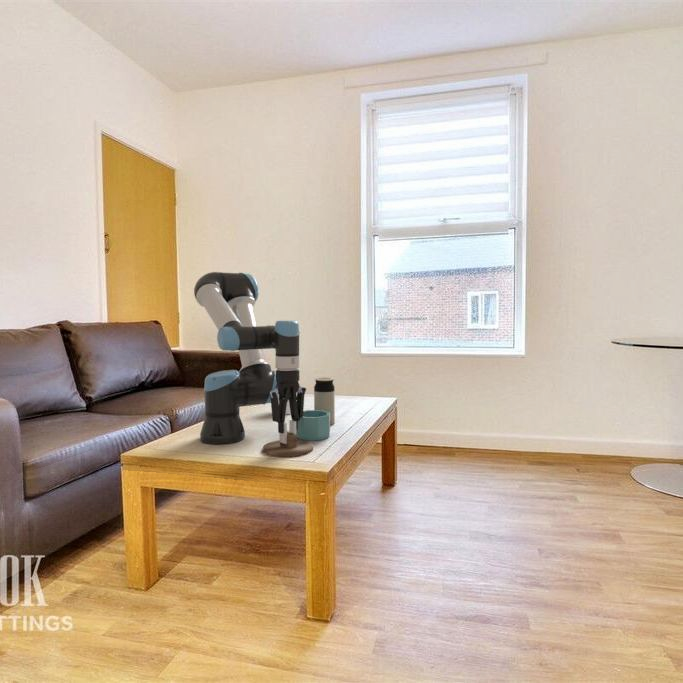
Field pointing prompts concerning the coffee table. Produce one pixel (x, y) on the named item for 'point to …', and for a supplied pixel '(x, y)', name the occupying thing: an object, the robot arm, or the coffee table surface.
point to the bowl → (314, 425)
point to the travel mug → (325, 396)
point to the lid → (288, 447)
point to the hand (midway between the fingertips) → (288, 441)
